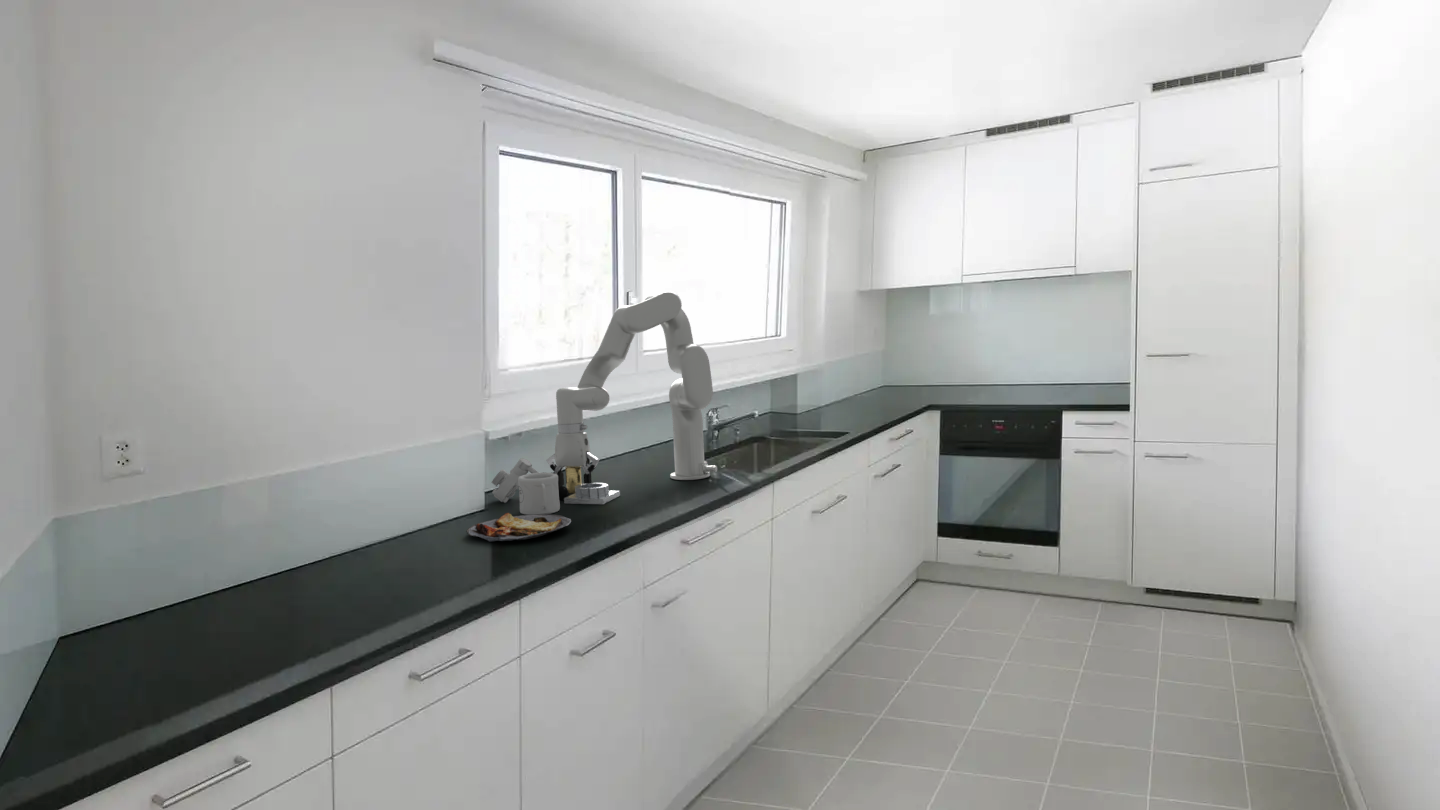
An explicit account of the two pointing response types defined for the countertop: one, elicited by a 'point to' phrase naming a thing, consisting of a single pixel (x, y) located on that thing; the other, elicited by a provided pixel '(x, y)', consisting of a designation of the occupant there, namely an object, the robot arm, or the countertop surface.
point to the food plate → (518, 527)
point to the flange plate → (592, 500)
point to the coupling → (573, 478)
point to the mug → (538, 493)
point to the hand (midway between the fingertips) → (574, 486)
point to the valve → (510, 481)
